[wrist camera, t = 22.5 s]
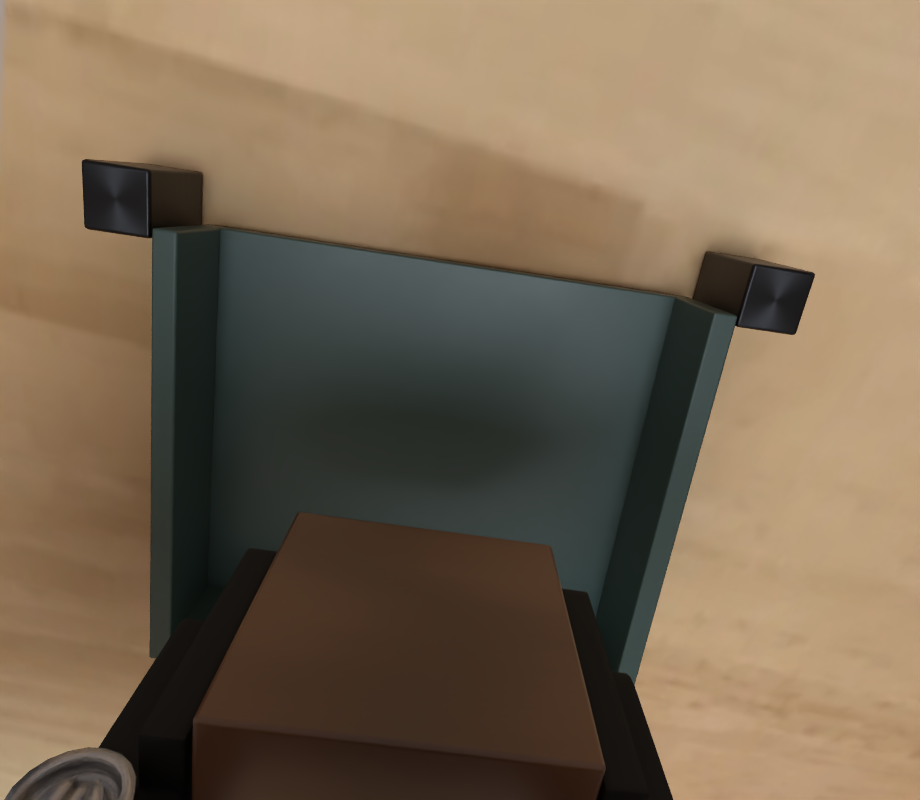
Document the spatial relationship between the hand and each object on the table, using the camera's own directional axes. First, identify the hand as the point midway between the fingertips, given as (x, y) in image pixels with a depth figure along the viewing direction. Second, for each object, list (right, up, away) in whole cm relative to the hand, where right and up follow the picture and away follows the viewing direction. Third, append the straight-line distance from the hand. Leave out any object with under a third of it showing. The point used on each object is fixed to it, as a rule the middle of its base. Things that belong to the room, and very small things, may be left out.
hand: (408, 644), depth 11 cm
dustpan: (-1, -1, +6) cm, 6 cm away
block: (0, 0, 0) cm, 0 cm away
